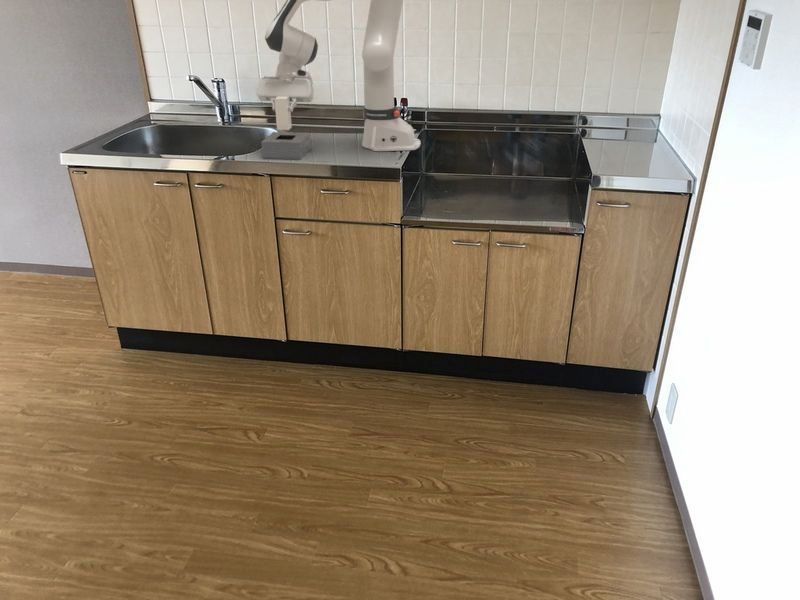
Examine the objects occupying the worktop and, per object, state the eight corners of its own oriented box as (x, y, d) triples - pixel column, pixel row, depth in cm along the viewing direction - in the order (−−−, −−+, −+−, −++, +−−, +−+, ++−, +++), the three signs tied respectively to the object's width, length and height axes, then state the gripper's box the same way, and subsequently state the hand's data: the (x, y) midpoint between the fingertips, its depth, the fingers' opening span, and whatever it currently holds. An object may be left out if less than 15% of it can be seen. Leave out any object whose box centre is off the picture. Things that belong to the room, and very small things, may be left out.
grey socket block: (310, 149, 252) (309, 133, 249) (300, 159, 240) (299, 142, 237) (274, 148, 254) (273, 132, 251) (263, 158, 241) (261, 141, 239)
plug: (291, 127, 244) (289, 96, 239) (288, 130, 240) (286, 98, 235) (280, 127, 244) (277, 96, 239) (277, 129, 241) (274, 98, 236)
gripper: (257, 71, 241) (251, 104, 237) (313, 72, 238) (307, 106, 234) (262, 81, 247) (257, 114, 243) (317, 83, 244) (311, 116, 240)
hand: (282, 110), depth 239 cm, fingers closed on plug, 4 cm apart
